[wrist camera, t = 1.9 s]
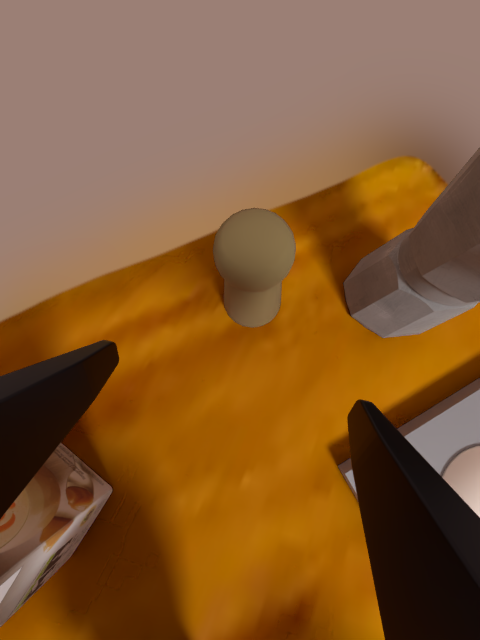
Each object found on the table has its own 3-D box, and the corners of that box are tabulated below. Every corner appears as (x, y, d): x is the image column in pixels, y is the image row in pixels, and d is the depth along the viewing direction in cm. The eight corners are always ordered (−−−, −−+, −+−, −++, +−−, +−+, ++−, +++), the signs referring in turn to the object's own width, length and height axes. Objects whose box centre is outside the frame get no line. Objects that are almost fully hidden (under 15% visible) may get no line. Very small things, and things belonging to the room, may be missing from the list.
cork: (215, 317, 23) (185, 267, 12) (234, 266, 24) (222, 180, 13) (271, 335, 22) (292, 298, 11) (287, 282, 23) (320, 203, 12)
